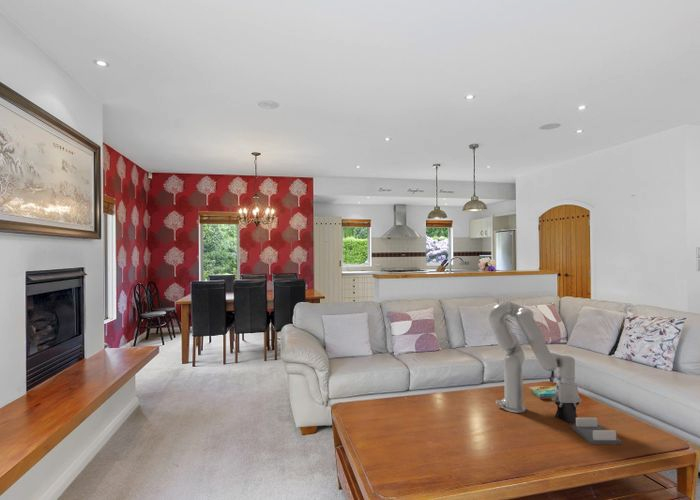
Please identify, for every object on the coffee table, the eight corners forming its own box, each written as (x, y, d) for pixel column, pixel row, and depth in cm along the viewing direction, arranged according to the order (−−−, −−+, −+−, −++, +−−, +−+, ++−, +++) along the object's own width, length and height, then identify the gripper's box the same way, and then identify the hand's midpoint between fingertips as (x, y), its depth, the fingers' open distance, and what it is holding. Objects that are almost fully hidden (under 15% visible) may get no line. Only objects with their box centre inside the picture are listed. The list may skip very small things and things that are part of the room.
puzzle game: (528, 385, 235) (559, 384, 237) (528, 393, 235) (559, 391, 237) (539, 392, 223) (571, 391, 225) (539, 400, 223) (571, 399, 225)
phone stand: (555, 416, 201) (555, 394, 201) (563, 415, 203) (563, 393, 203) (569, 424, 193) (569, 400, 193) (578, 422, 195) (578, 399, 195)
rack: (591, 444, 173) (591, 432, 173) (570, 427, 189) (570, 416, 189) (621, 444, 173) (621, 432, 173) (598, 427, 189) (598, 416, 189)
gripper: (554, 382, 194) (554, 417, 194) (587, 382, 194) (587, 417, 194) (546, 377, 202) (546, 410, 202) (578, 377, 201) (578, 410, 202)
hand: (566, 413), depth 198 cm, fingers closed on phone stand, 6 cm apart
